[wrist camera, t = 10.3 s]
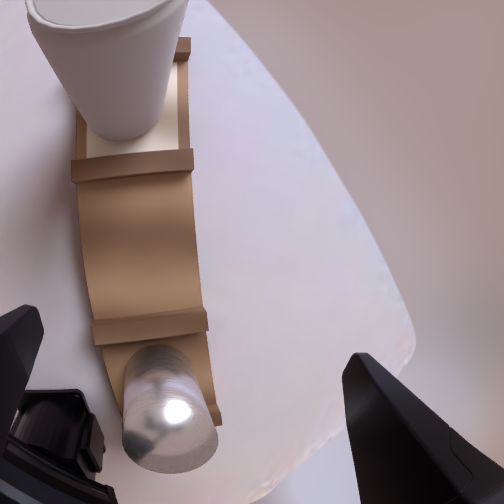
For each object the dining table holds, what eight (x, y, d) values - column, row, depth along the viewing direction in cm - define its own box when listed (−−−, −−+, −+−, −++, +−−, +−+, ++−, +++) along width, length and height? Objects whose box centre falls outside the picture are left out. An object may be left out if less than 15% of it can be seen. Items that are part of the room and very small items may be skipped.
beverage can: (98, 70, 14) (67, -71, 3) (170, 77, 16) (215, -67, 5) (78, 141, 15) (-9, 42, 4) (155, 148, 16) (172, 41, 5)
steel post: (134, 405, 18) (137, 477, 11) (118, 348, 17) (109, 413, 11) (198, 396, 19) (223, 464, 13) (188, 339, 19) (211, 399, 12)
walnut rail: (213, 405, 21) (222, 425, 19) (127, 418, 19) (127, 440, 17) (184, 55, 17) (190, 36, 15) (87, 63, 15) (80, 44, 13)
